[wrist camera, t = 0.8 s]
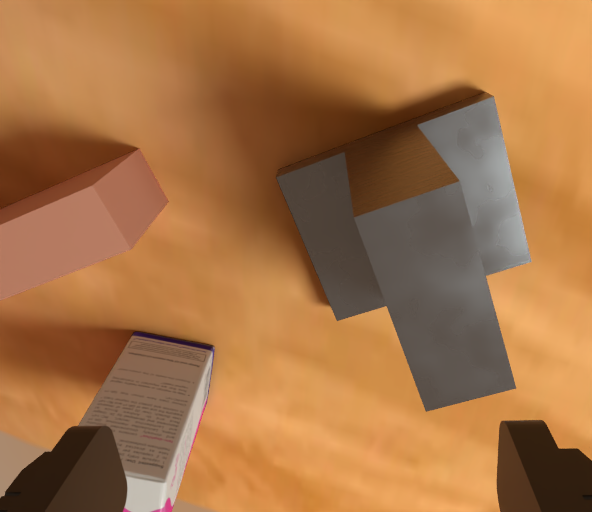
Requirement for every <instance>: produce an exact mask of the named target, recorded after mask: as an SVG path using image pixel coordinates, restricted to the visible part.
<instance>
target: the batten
mask: <svg viewBox="0 0 592 512" xmlns="http://www.w3.org/2000/svg"><path fill="white" fill-rule="evenodd" d="M168 202H169V201H168V199H167V198H166V196H165V194H164V192H163V190H162V189H161V187H160V185H159V183H158V181H157V179H156V178H155V176H154V174H153V172H152V170H151V169H150V167H149V165H148V163H147V161H146V160H145V158H144V156H143V154H142V152H141V150H140V149H137V150H135V151H132V152H130V153H128V154H126V155H123V156H121V157H119V158H116V159H114V160H112V161H110V162H107V163H105V164H103V165H100V166H98V167H96V168H93V169H91V170H89V171H87V172H84V173H82V174H80V175H77V176H75V177H73V178H71V179H68V180H66V181H64V182H61V183H59V184H57V185H55V186H52V187H50V188H48V189H45V190H43V191H41V192H39V193H36V194H34V195H32V196H29V197H27V198H25V199H23V200H20V201H18V202H16V203H13V204H11V205H9V206H7V207H4V208H2V209H0V301H1V300H3V299H6V298H8V297H11V296H13V295H16V294H18V293H21V292H24V291H26V290H29V289H31V288H34V287H36V286H39V285H42V284H44V283H47V282H49V281H52V280H54V279H57V278H59V277H62V276H65V275H67V274H70V273H72V272H75V271H77V270H80V269H82V268H85V267H88V266H90V265H93V264H95V263H98V262H100V261H103V260H106V259H108V258H111V257H113V256H116V255H118V254H121V253H123V252H126V251H129V250H131V249H132V248H133V247H134V245H135V244H136V243H137V241H138V240H139V239H140V238H141V236H142V235H143V234H144V233H145V231H146V230H147V229H148V227H149V226H150V225H151V224H152V222H153V221H154V220H155V218H156V217H157V216H158V215H159V213H160V212H161V211H162V210H163V208H164V207H165V206H166V204H167V203H168Z"/></svg>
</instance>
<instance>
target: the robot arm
mask: <svg viewBox="0 0 592 512" xmlns="http://www.w3.org/2000/svg"><path fill="white" fill-rule="evenodd" d="M497 494H498V501H499V507H500V511H501V512H592V461H591V460H590V459H589V458H588V457H587V456H586V455H584V454H583V453H582V452H581V451H580V450H579V449H558V447H557V445H556V443H555V441H554V439H553V437H552V435H551V433H550V431H549V429H548V427H547V425H546V424H545V422H544V421H542V420H522V421H501V423H500V428H499V446H498V465H497ZM126 499H127V479H126V476H125V472H124V469H123V465H122V462H121V459H120V455H119V452H118V448H117V445H116V441H115V438H114V435H113V432H112V430H111V429H110V427H108V426H73V427H71V428H69V429H68V430H67V431H66V432H65V434H64V435H63V436H62V438H61V439H60V440H59V442H58V443H57V444H56V446H55V447H54V448H53V450H52V451H51V452H44V453H43V454H42V455H41V456H39V457H38V458H37V459H36V460H34V461H33V462H32V463H31V464H29V465H28V466H27V467H26V468H24V469H23V470H22V471H21V472H20V474H19V475H18V476H17V477H16V479H15V480H14V481H13V483H12V484H11V485H10V486H9V488H8V489H7V490H6V492H5V496H2V497H1V498H0V512H123V510H124V507H125V504H126Z"/></svg>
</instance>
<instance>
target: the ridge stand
mask: <svg viewBox="0 0 592 512" xmlns="http://www.w3.org/2000/svg"><path fill="white" fill-rule="evenodd" d="M276 178H277V181H278V183H279V185H280V188H281V190H282V193H283V195H284V197H285V200H286V202H287V204H288V207H289V209H290V211H291V214H292V216H293V218H294V221H295V223H296V226H297V228H298V230H299V233H300V235H301V237H302V240H303V242H304V244H305V247H306V249H307V251H308V254H309V256H310V258H311V261H312V263H313V266H314V268H315V270H316V273H317V275H318V277H319V280H320V282H321V284H322V287H323V289H324V291H325V294H326V296H327V299H328V301H329V303H330V306H331V308H332V310H333V313H334V315H335V317H336V320H337V321H338V320H342V319H345V318H348V317H352V316H355V315H358V314H361V313H365V312H368V311H371V310H375V309H378V308H381V307H385V306H387V308H388V311H389V313H390V316H391V319H392V321H393V324H394V327H395V330H396V332H397V335H398V338H399V340H400V343H401V346H402V348H403V351H404V354H405V356H406V359H407V362H408V364H409V367H410V370H411V373H412V375H413V378H414V381H415V383H416V386H417V389H418V391H419V394H420V397H421V399H422V402H423V405H424V407H425V410H426V411H430V410H434V409H438V408H442V407H446V406H450V405H453V404H457V403H461V402H465V401H469V400H473V399H477V398H481V397H484V396H488V395H492V394H496V393H500V392H504V391H508V390H512V389H516V386H515V382H514V378H513V375H512V371H511V367H510V364H509V360H508V356H507V353H506V349H505V345H504V342H503V338H502V334H501V331H500V327H499V323H498V320H497V316H496V312H495V309H494V305H493V301H492V298H491V294H490V290H489V287H488V283H487V279H486V275H490V274H493V273H496V272H500V271H503V270H506V269H510V268H513V267H516V266H519V265H523V264H526V263H529V262H531V258H530V253H529V249H528V244H527V240H526V236H525V231H524V227H523V222H522V218H521V214H520V209H519V205H518V200H517V196H516V192H515V187H514V183H513V178H512V174H511V170H510V165H509V161H508V156H507V152H506V148H505V143H504V139H503V134H502V130H501V126H500V121H499V117H498V112H497V108H496V104H495V99H494V96H492V95H490V94H488V93H487V92H484V93H481V94H479V95H476V96H473V97H471V98H468V99H465V100H463V101H460V102H457V103H455V104H452V105H449V106H447V107H444V108H441V109H439V110H436V111H433V112H431V113H428V114H425V115H423V116H420V117H417V118H415V119H412V120H409V121H407V122H404V123H401V124H399V125H396V126H393V127H391V128H388V129H385V130H383V131H380V132H377V133H375V134H372V135H369V136H367V137H364V138H361V139H359V140H356V141H353V142H351V143H348V144H345V145H343V146H340V147H337V148H335V149H332V150H329V151H327V152H324V153H321V154H319V155H316V156H313V157H311V158H308V159H305V160H303V161H300V162H297V163H295V164H292V165H289V166H287V167H284V168H281V169H279V170H278V172H277V176H276Z"/></svg>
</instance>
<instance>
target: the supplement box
mask: <svg viewBox="0 0 592 512" xmlns="http://www.w3.org/2000/svg"><path fill="white" fill-rule="evenodd" d="M214 349H215V347H214V346H210V345H206V344H201V343H196V342H190V341H184V340H179V339H174V338H168V337H164V336H159V335H154V334H148V333H142V332H134V333H133V335H132V336H131V338H130V340H129V341H128V343H127V344H126V346H125V348H124V350H123V351H122V353H121V355H120V356H119V358H118V359H117V361H116V363H115V365H114V366H113V368H112V370H111V371H110V373H109V375H108V376H107V378H106V380H105V381H104V383H103V385H102V386H101V388H100V390H99V391H98V393H97V395H96V396H95V398H94V400H93V402H92V403H91V405H90V407H89V408H88V410H87V412H86V413H85V415H84V417H83V418H82V420H81V422H80V423H79V425H78V426H108V427H110V429H111V430H112V432H113V435H114V438H115V441H116V445H117V448H118V452H119V455H120V459H121V462H122V465H123V469H124V472H125V476H126V479H127V499H126V504H125V507H124V510H123V512H172V509H173V506H174V503H175V499H176V496H177V493H178V490H179V487H180V484H181V480H182V477H183V474H184V471H185V468H186V465H187V462H188V458H189V455H190V452H191V449H192V446H193V443H194V440H195V437H196V434H197V431H198V428H199V424H200V421H201V418H202V415H203V412H204V409H205V407H206V403H207V398H208V392H209V386H210V379H211V372H212V365H213V357H214Z"/></svg>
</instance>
